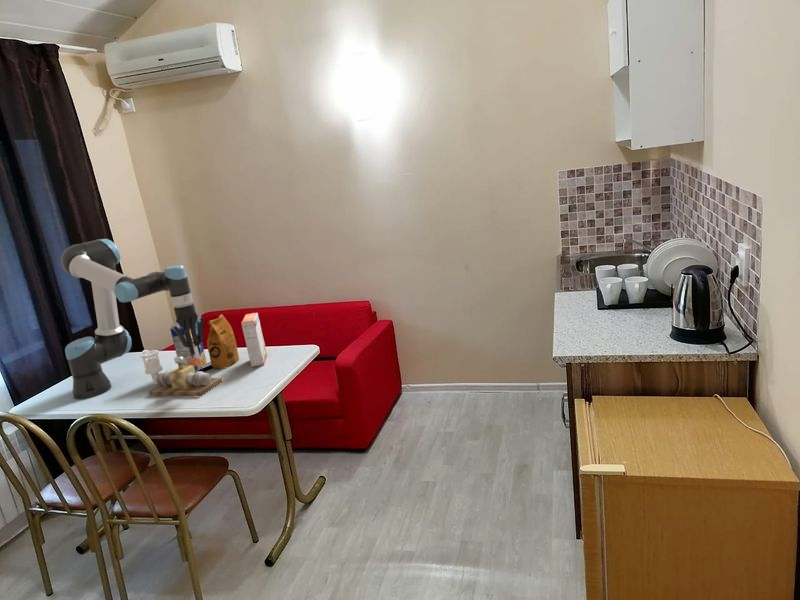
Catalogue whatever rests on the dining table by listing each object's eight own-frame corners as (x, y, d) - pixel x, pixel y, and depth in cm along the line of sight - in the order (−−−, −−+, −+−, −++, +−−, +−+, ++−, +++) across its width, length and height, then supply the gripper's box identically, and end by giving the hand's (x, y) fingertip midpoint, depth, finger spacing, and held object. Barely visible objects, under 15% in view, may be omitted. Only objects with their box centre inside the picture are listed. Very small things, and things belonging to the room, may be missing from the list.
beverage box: (181, 376, 263) (170, 328, 257) (194, 366, 273) (183, 321, 268) (195, 374, 261) (184, 327, 256) (207, 365, 272) (196, 319, 266)
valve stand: (149, 395, 243) (142, 369, 240) (173, 382, 256) (166, 356, 253) (200, 396, 234) (193, 369, 231) (222, 382, 246) (216, 356, 243)
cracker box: (254, 357, 273) (245, 314, 268) (267, 355, 274) (258, 311, 269) (250, 367, 260) (240, 322, 255) (264, 365, 260) (254, 319, 255)
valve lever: (173, 363, 242) (172, 358, 241) (180, 360, 244) (179, 355, 244) (194, 366, 233) (193, 361, 233) (201, 363, 236) (200, 358, 235)
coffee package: (208, 369, 266) (197, 322, 261) (224, 359, 278) (214, 314, 272) (227, 369, 263) (216, 321, 258) (242, 358, 274) (232, 313, 269)
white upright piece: (157, 379, 263) (149, 347, 259) (169, 380, 259) (161, 347, 256) (145, 385, 257) (136, 353, 253) (156, 386, 253) (147, 353, 250)
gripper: (171, 310, 225) (186, 368, 231) (203, 300, 234) (216, 357, 239) (163, 308, 231) (178, 365, 236) (194, 299, 239) (208, 354, 245)
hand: (197, 361), depth 238 cm, fingers closed
